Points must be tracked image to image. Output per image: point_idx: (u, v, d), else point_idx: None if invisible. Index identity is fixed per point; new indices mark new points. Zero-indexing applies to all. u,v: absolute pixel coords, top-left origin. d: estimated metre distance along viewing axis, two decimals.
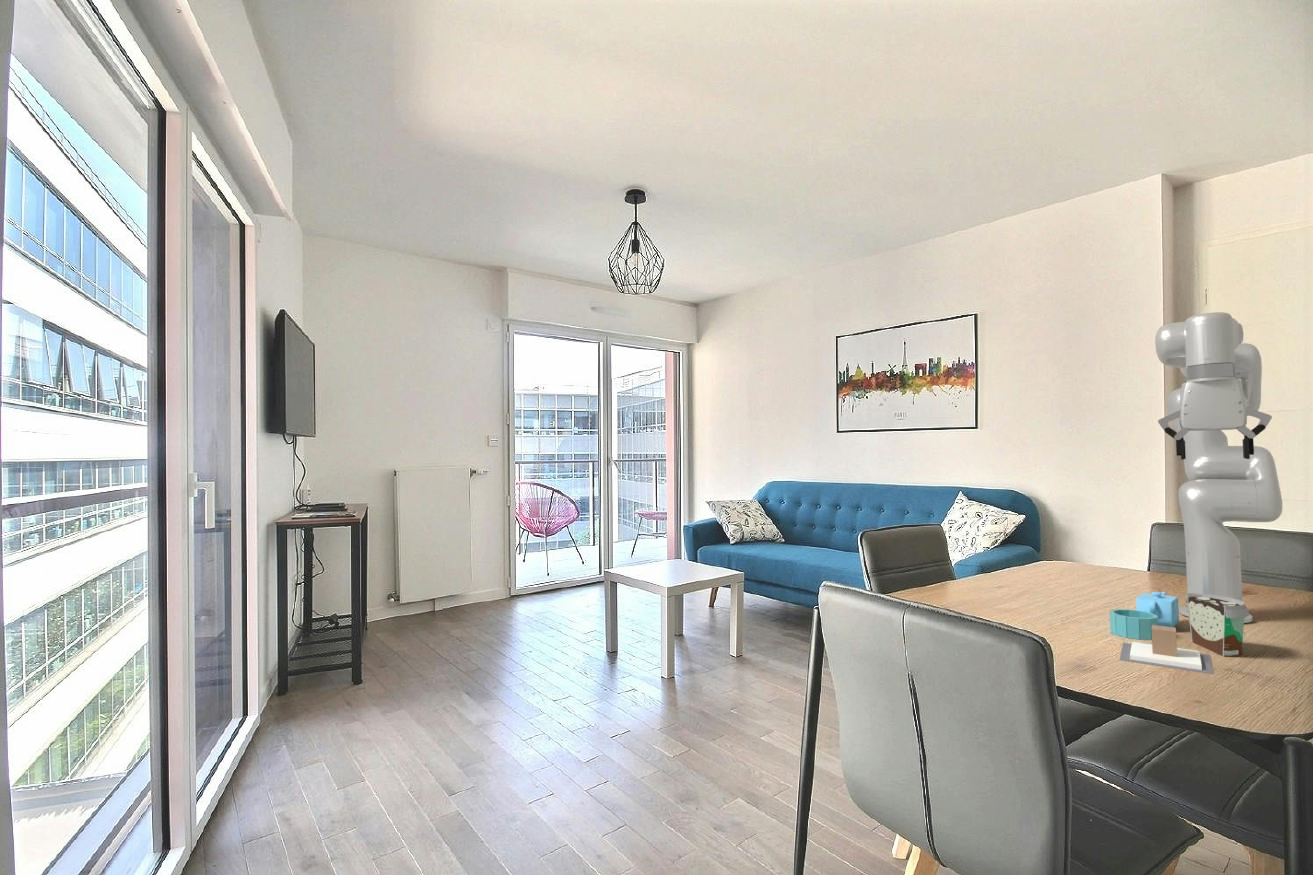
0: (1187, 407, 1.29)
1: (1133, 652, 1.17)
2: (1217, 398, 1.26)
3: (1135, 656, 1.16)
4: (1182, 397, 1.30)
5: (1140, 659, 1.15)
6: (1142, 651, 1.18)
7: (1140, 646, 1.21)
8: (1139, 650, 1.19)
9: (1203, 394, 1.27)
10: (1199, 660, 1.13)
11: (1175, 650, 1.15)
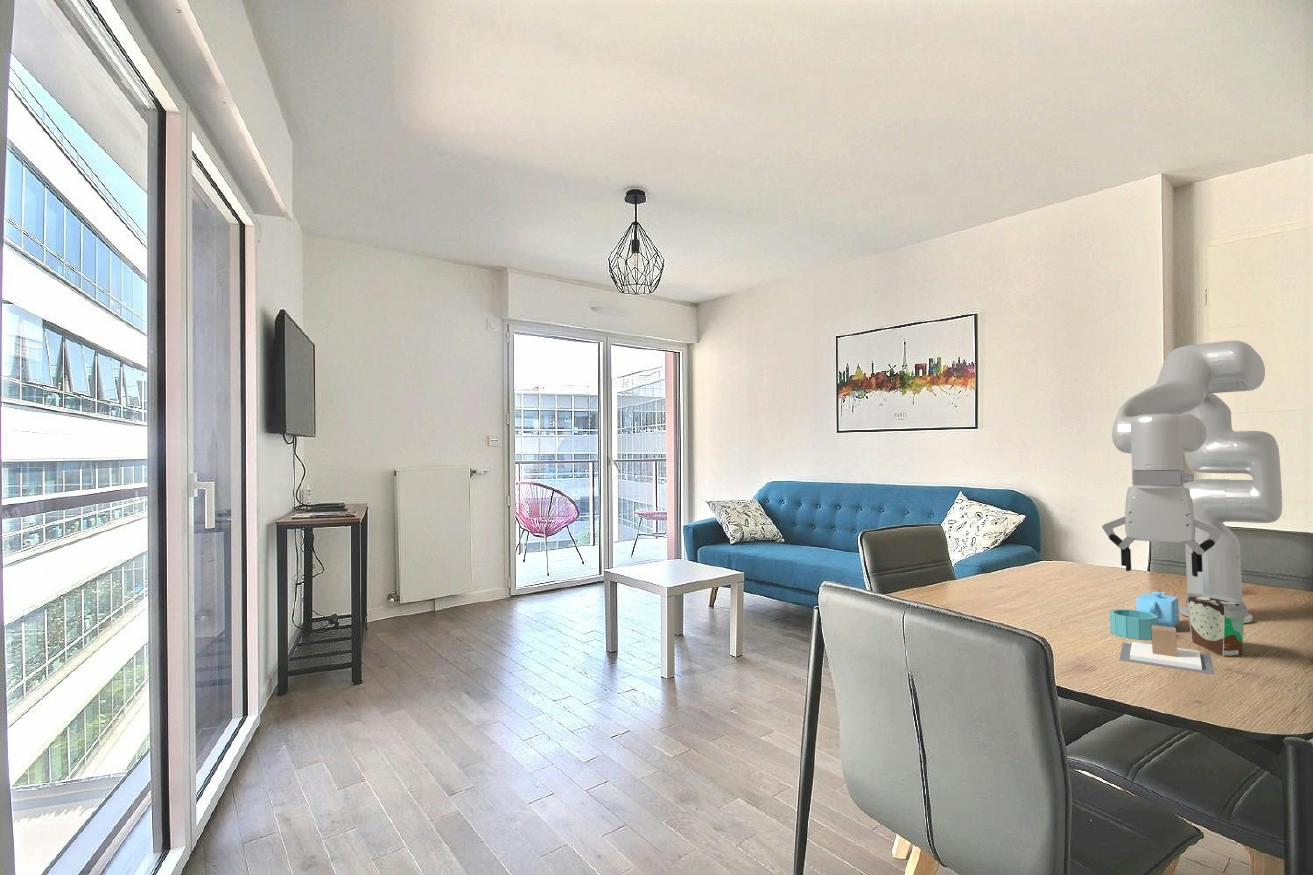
0: (1132, 515, 1.18)
1: (1133, 652, 1.17)
2: (1163, 508, 1.15)
3: (1135, 656, 1.16)
4: (1127, 503, 1.19)
5: (1140, 659, 1.15)
6: (1142, 651, 1.18)
7: (1140, 646, 1.21)
8: (1139, 650, 1.19)
9: (1149, 502, 1.17)
10: (1199, 660, 1.13)
11: (1175, 650, 1.15)
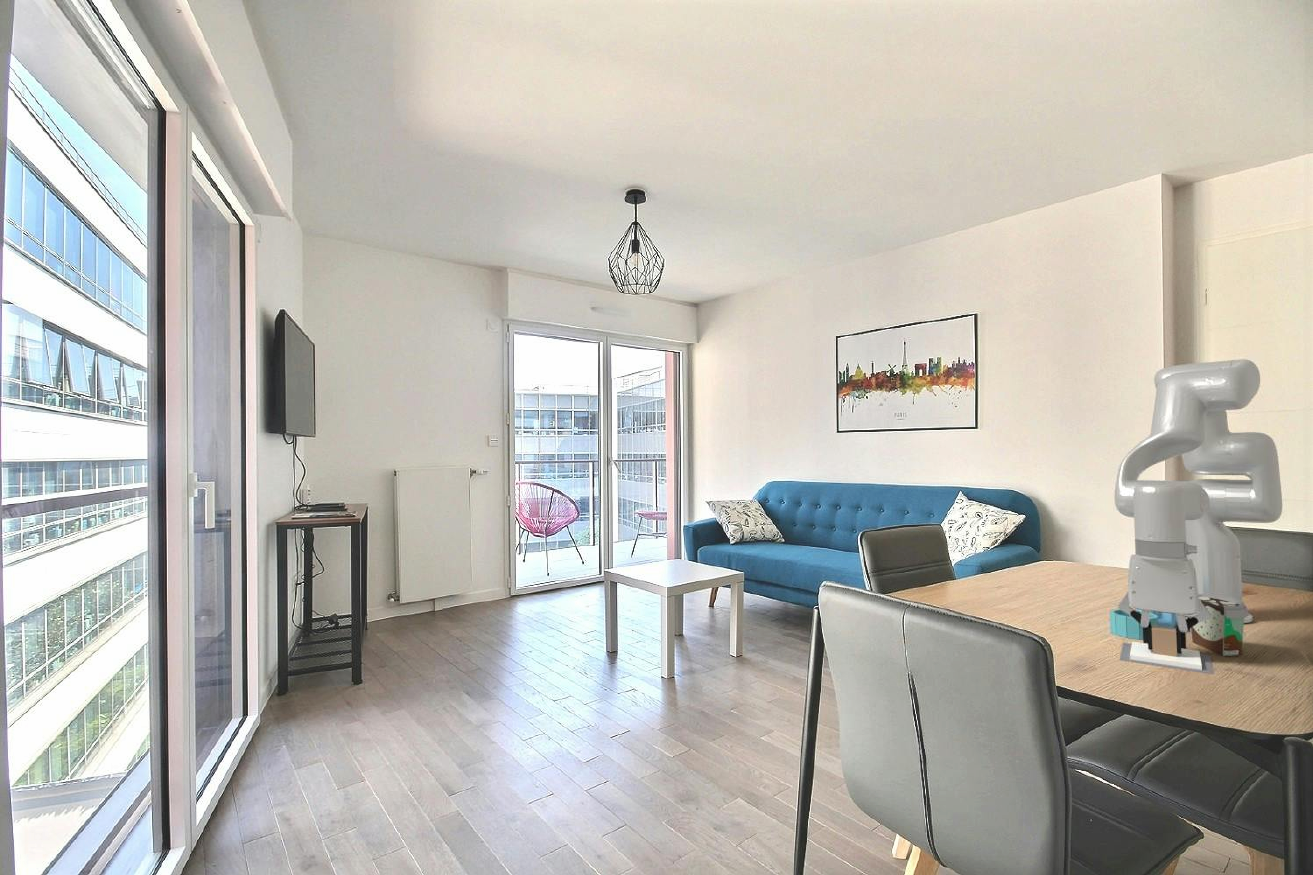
0: (1135, 585, 1.18)
1: (1133, 652, 1.17)
2: (1167, 580, 1.15)
3: (1135, 656, 1.16)
4: (1130, 572, 1.19)
5: (1140, 659, 1.15)
6: (1142, 651, 1.18)
7: (1140, 646, 1.21)
8: (1139, 650, 1.19)
9: (1152, 573, 1.17)
10: (1199, 660, 1.13)
11: (1175, 650, 1.15)
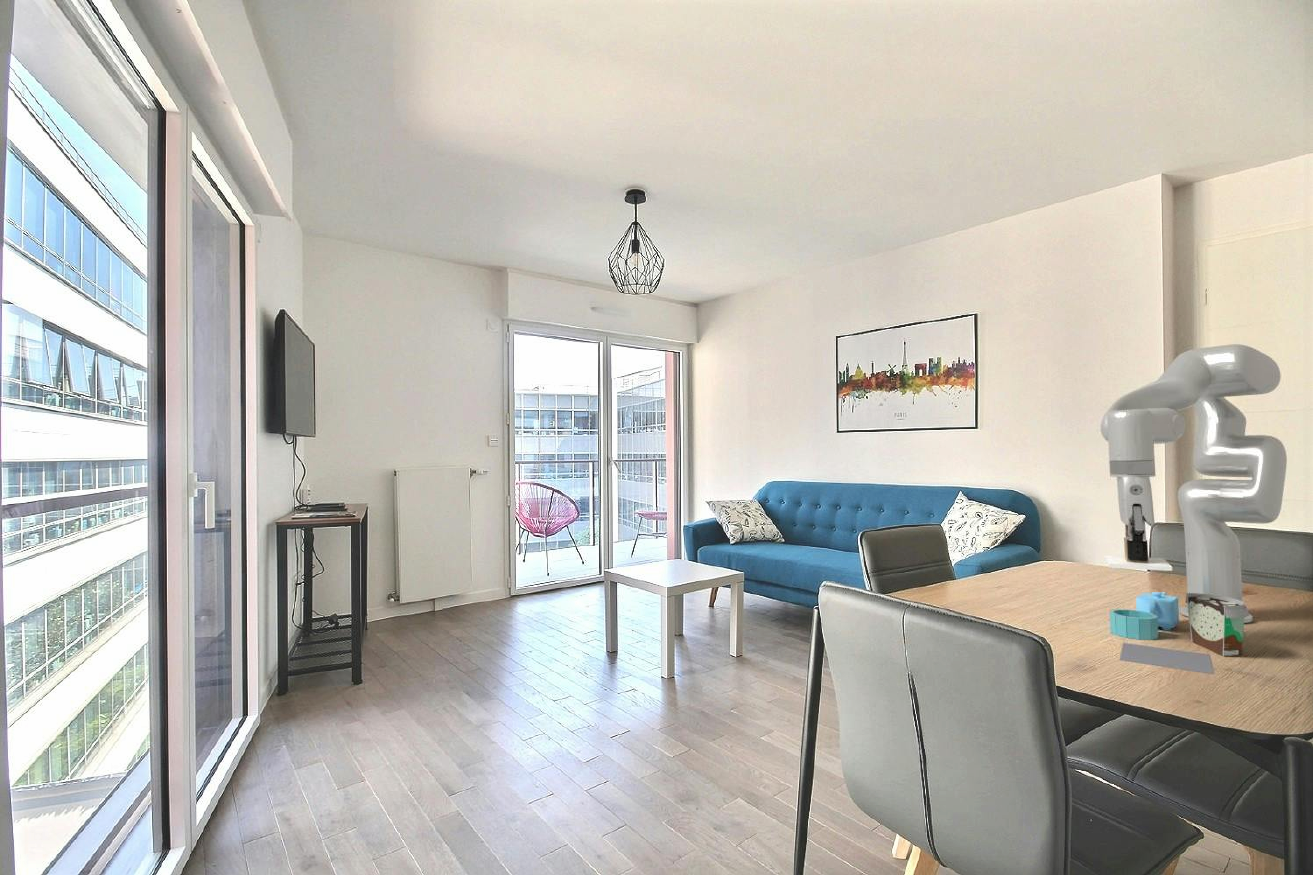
0: None
1: (1114, 556, 1.36)
2: (1118, 494, 1.31)
3: (1105, 557, 1.36)
4: None
5: (1105, 559, 1.36)
6: None
7: None
8: None
9: None
10: (1127, 564, 1.27)
11: (1126, 556, 1.30)
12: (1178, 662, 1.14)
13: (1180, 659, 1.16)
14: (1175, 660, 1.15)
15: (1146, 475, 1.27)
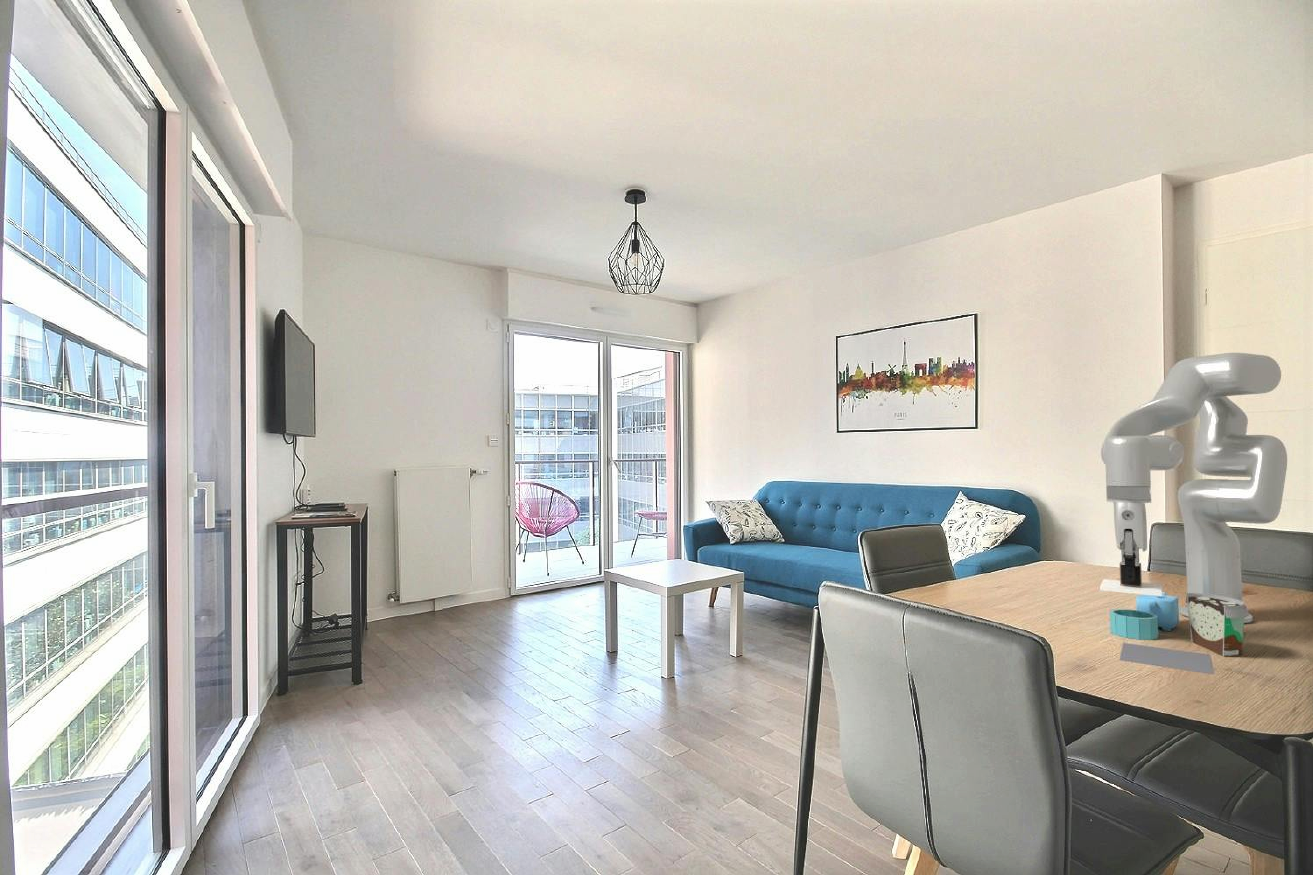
0: None
1: (1113, 580, 1.38)
2: None
3: None
4: None
5: None
6: None
7: (1144, 583, 1.34)
8: None
9: None
10: (1118, 587, 1.30)
11: (1120, 579, 1.32)
12: (1178, 662, 1.14)
13: (1180, 659, 1.16)
14: (1175, 660, 1.15)
15: (1139, 500, 1.29)
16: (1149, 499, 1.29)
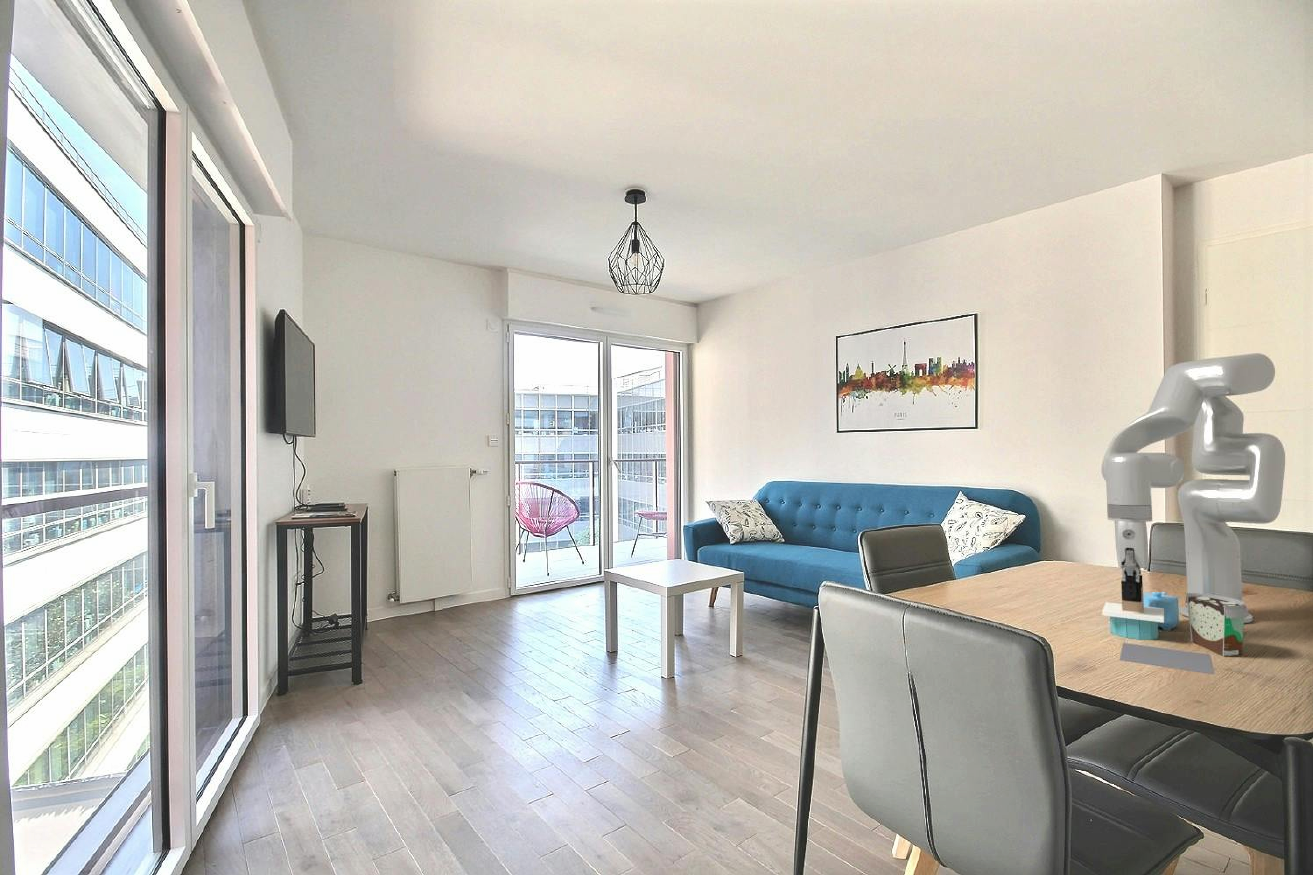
0: None
1: (1115, 603, 1.38)
2: None
3: (1105, 603, 1.38)
4: None
5: None
6: None
7: (1147, 607, 1.34)
8: None
9: None
10: (1120, 613, 1.30)
11: (1122, 604, 1.32)
12: (1178, 662, 1.14)
13: (1180, 659, 1.16)
14: (1175, 660, 1.15)
15: (1140, 519, 1.29)
16: (1150, 518, 1.29)
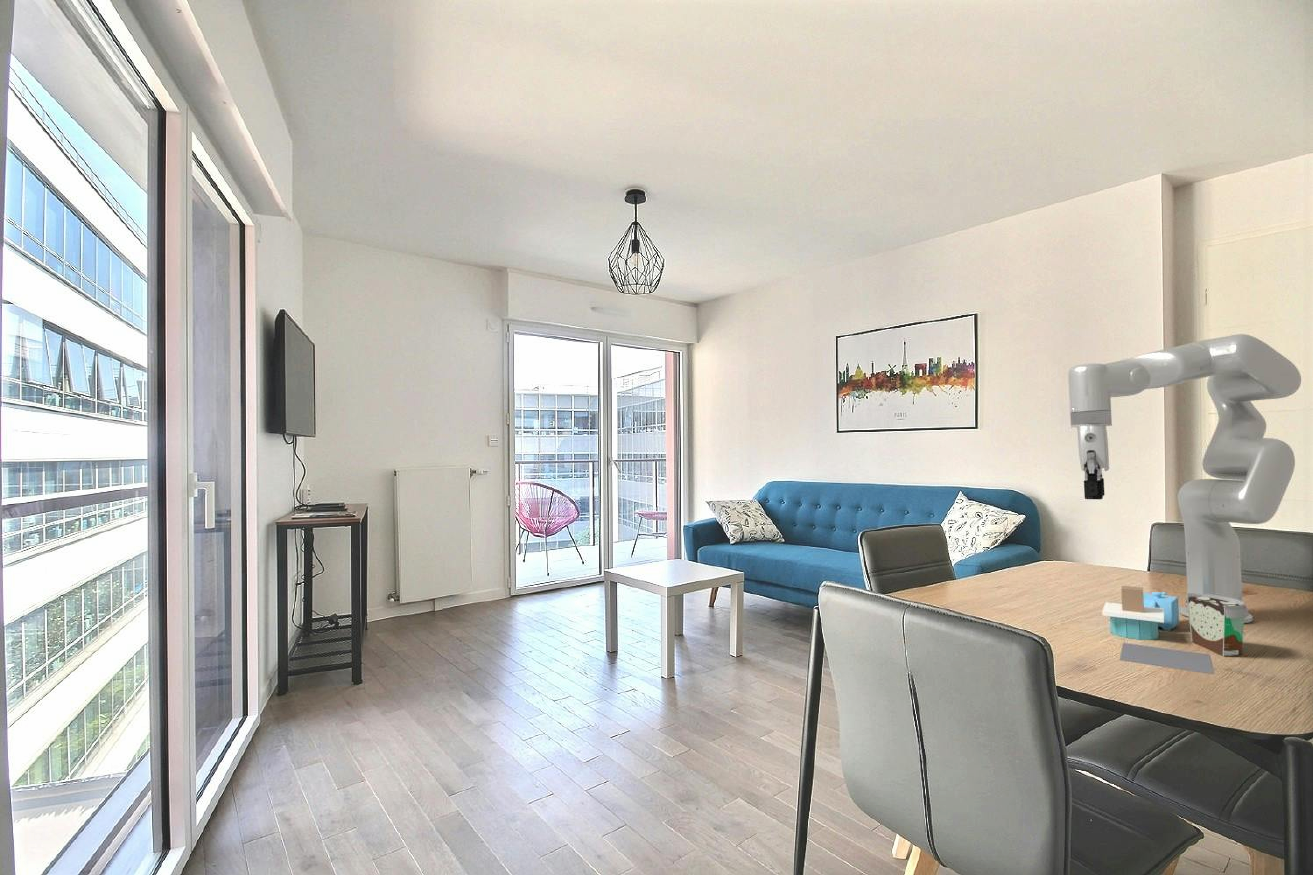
0: None
1: (1115, 603, 1.38)
2: None
3: (1105, 603, 1.38)
4: None
5: None
6: None
7: (1147, 607, 1.34)
8: None
9: None
10: (1120, 613, 1.30)
11: (1122, 604, 1.32)
12: (1178, 662, 1.14)
13: (1180, 659, 1.16)
14: (1175, 660, 1.15)
15: (1101, 424, 1.37)
16: (1110, 422, 1.37)
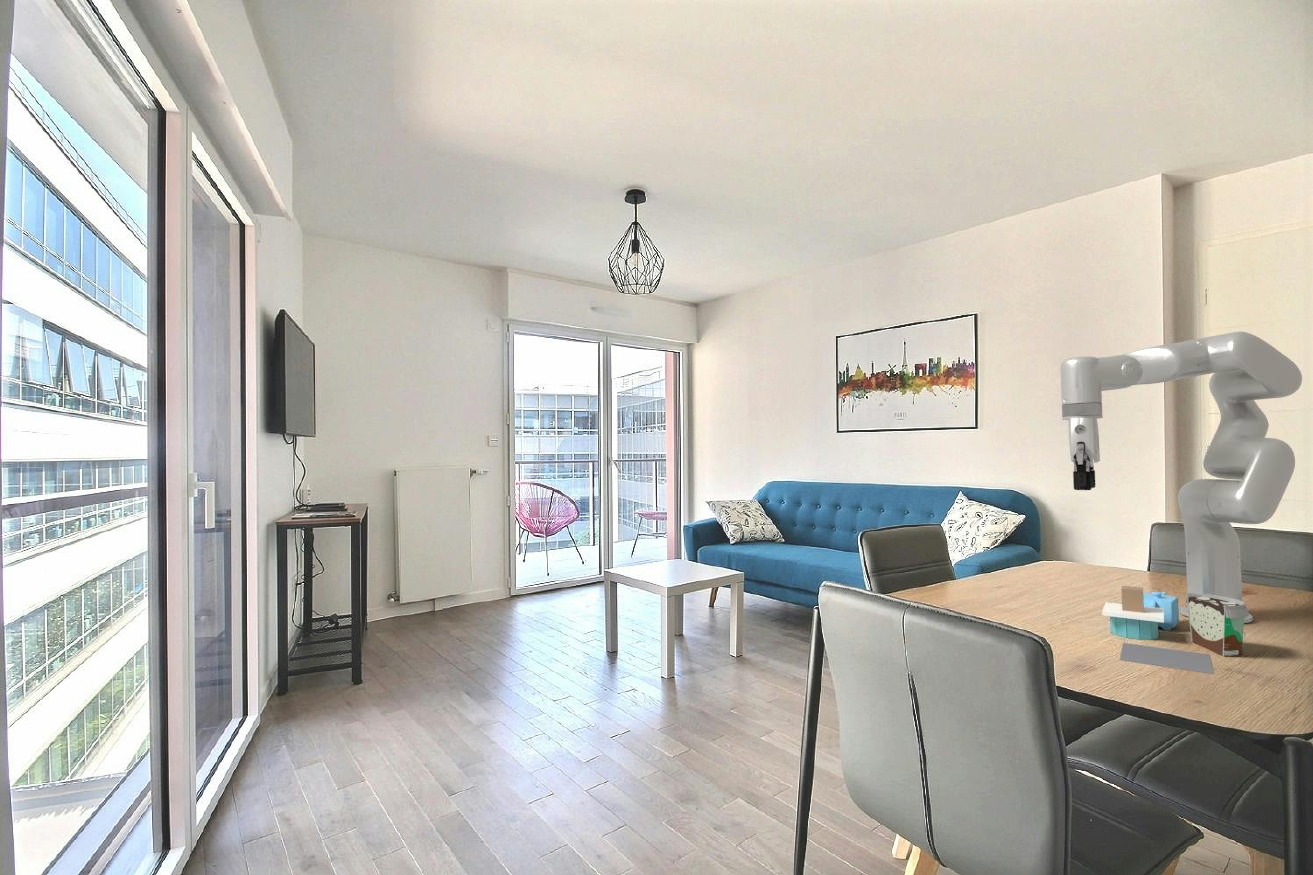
0: None
1: (1115, 603, 1.38)
2: None
3: (1105, 603, 1.38)
4: None
5: None
6: None
7: (1147, 607, 1.34)
8: None
9: None
10: (1120, 613, 1.30)
11: (1122, 604, 1.32)
12: (1178, 662, 1.14)
13: (1180, 659, 1.16)
14: (1175, 660, 1.15)
15: (1091, 416, 1.38)
16: (1100, 414, 1.39)
